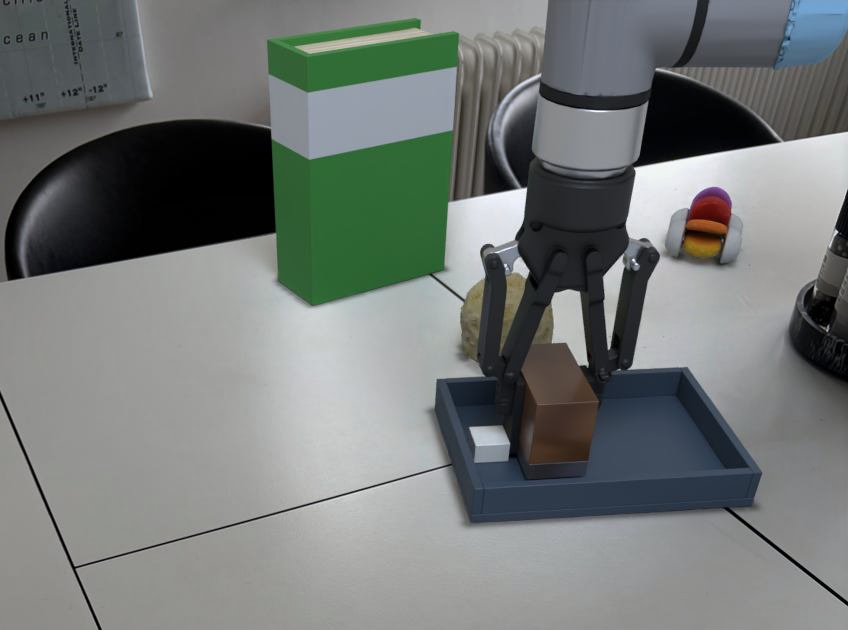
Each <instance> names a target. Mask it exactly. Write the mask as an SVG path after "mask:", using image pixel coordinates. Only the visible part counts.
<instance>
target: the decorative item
mask: <svg viewBox="0 0 848 630" xmlns="http://www.w3.org/2000/svg"><path fill="white" fill-rule="evenodd" d="M526 279H527V277H524V276H523V275H522V274H520V273H519V272H516V271H515V272H512V273H511V275H510V276H506V281H507V295H506V303H505V311H504V319H503V327H502V335H501V343H500V352H499V356H500V354H501V351H502V349H503V346H504V343H505V341H506V338H507V335H508V333H509V330H510V328H511V325H512V322H513V320H514V317H515V314H516V312H517V309H518V306H519V304H520V301H521V299H522V296H523V293H524V290H525V282H526ZM484 282H485V277H484V278H483V279H481V280H479V281H478V282H477V283H475V284H474V285H473V286H472V287H471V288H470V289H469V290H468V291H467V293H466V295H465V298H464V301H463V304H462V306H461V307H460V315H459V324H460V330H461V335H460V336H461V342H462V347H463V353H464V357H465V358H470V359H471V360H472V361H474V362H475V363H477V364H479V363H478V361H477V347H478V338H479V329H480V319H481V310H482V301H483V291H484ZM552 302H553V301H551V303H550V305H549V306H547V307H546V309H545V311H544V314H543V316H542V319H541V321H540V324H539V326H538V329H537V331H536V334H535V336H534V339H533V341H532V344H546V343H553V340H554V339H553V337H554V328H555V323H554V319H555V318H554V309H553V303H552Z"/></svg>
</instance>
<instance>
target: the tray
mask: <svg viewBox="0 0 848 630" xmlns="http://www.w3.org/2000/svg"><path fill="white" fill-rule="evenodd" d="M611 373H612V375H613V376H612V379H611V380H610V381H609V382H607V383H605V388H604V393H603V398H602V404H601V406H600V408H599V409H598V410H597V415H596V421H595V426H594V432H593V437H592V443H591V448H590V454H589V459H588V464H587V470H586V475H585V476H578V477H562V478H545V479H527V478H526V476H525V473H524V471H523V468H522V466H521V464H520V461H519V459H518V456H517V454H509V458H508V461H505V462H487V463H475V462H474V459H473V456H472V453H471V451H470V448H469V445H468V432H469V427H480V426H499V425H502V426H503V423H504V422H503V420H502V417H501V416H500V414H499V412H498V409H497V407H496V404H495V396H496V385H497V377H494V376H492V377H486V376H484V375H483V376H466V377H465V376H463V377H461V376H460V377H445V378H436V383H435V397H434V413H435V416H436V419H437V422H438V425H439V428H440V432H441V435H442V438H443V441H444V444H445V447H446V450H447V453H448V456H449V459H450V463H451V466H452V469H453V472H454V475H455V478H456V482H457V485H458V487H459V490H460V493H461V497H462V500H463V502H464V505H465V509H466V512H467V516H468V519H469V521H470V523H471V524H477V523H494V522H508V521H509V522H510V521H524V520H525V521H527V520H541V519H556V518H557V519H559V518H560V519H561V518H573V517H575V518H577V517H591V516H592V517H593V516H605V515H622V514H624V515H625V514H639V513H657V512H671V511H672V512H673V511H674V512H675V511H689V510H704V509H705V510H706V509H721V508H737V507H738V508H739V507H752V506H753V504H754V501H755V497H756V494H757V492H758V488H759V485H760V482H761V478H762V476H763V471H762V469H761V468H760V467H759V465H758V464H757V462H756V461H755V460H754V458H753V457H752V455H751V454H750V453H749V450H747V448H746V447H745V446H744V443H742V441H741V439H740V438H739V437H738V436H737V434H736V433H735V431H734V430H733V429H732V427H731V426H730V424H729V423H728V422H727V420H726V419H725V418H724V416H723V415H722V414H721V412H720V410H719V409H718V408H717V406H716V405H715V403H714V401H712V399H711V398H710V396H709V395H708V394H707V392H706V390H705V389H704V388H703V387H702V385H701V384H700V383H699V381H698V380H697V378H696V377H695V376H694V374H693V373H692V371H691V370H690V368H689V367H688V366H680V367H679V366H674V367H658V368H657V367H655V368H633V369H631V368H630V369H628V370H620V369H618V370H615V371H613V372H611Z"/></svg>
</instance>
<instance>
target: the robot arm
mask: <svg viewBox="0 0 848 630" xmlns="http://www.w3.org/2000/svg"><path fill="white" fill-rule="evenodd" d="M847 32H848V0H547V11H546V19H545V31H544V43H543V51H542V52H543V53H542V63H541V72H540V79H539V87H538V94H537V103H536V111H535V118H534V125H533V134H532V135H533V136H532V142H531V151H532V154H534V155H535V157H534V158H533V159H532V160H531V161H530V163H529V167H528V176H527V184H526V194H525V203H524V211H523V220H522V223H521V226H520V227H519V229H518V230H517V232H516V234H515V237H514V240H511V241H508V242H506V243H502V244H500V245H497V246H495V245H494V244H492V243H485V244H483V245H482V246H481V247H480V250H479V255H480V259H481V264H482V267H483V270H484V278H485V282H484V291H483V301H482V310H481V319H480V329H479V338H478V347H477V361H478V363H477V364H478V365H479V368H480V370H481V373H482V375H483V376H486V377H492V376H494V377H497V385H496V396H495V404H496V407H497V409H498V412H499V414H500V416H502V415H504V423H503V427H504V430H505V432H506V435H507V437H508V439H509V442H510V450H509V454H516V453H517V452H518V444H519V436H520V428H521V420H522V412H523V404H524V396H525V388H526V383H525V381H524V379H523V377H522V375H521V373H520V371H521V369H522V366H523V364H524V361H525V359H526V356H527V354H528V351H529V349H530V346H531V344H532V341H533V339H534V336H535V334H536V331H537V329H538V326H539V324H540V321H541V319H542V316H543V314H544V311H545V309H546V307H547V306H549V305H550V303H551V302H553V301H552V300H553V298H554V296H555V293H561V292H565V291H569V290H570V291H574V292H578V293H579V296H580V297H579V298H580V305H581V314H582V315H581V316H582V324H583V334H584V342H585V351H586V353H585V354H586V360H587V364H578V365H579V367H580V368H581V370H582V372H583V374H584V376H585V377H586V379H587V381H588V383H589V385H590V386H591V388H592V390H593V392H594V394H595V395H596V397H597V399H598V401H599V404H598V409H599V408H600V406H601V404H602V398H603V393H604V388H605V383H607V382H609V381H610V380H611V379H612V376H613V375H612V373H611V372H613V371H615V370H630V369H631V368H632V366H633V363H634V359H635V357H634V356H635V353H636V348H637V342H638V336H639V331H640V328H641V327H640V326H641V320H642V316H643V310H644V306H645V305H644V304H645V299H646V295H647V290H648V284H649V280H650V278H651V277H652V274H653V273H654V271H655V269H656V267H657V265H658V264H659V262H660V259H661V253H660V252H659V251H658V249H657V248H656V247H655V245H654V244H653V243H652V242H651V241H650V240H649V238H647V237H642V238H639V239H636V238H633V237H630V236H629V232H628V229H627V221H628V218H629V213H630V208H631V202H632V197H633V190H634V185H635V179H636V174H637V171H636V169H635V167H634V165H633V164H635V162H637V161H638V159H639V157H640V153H641V147H642V143H643V142H642V141H643V135H644V130H645V124H646V118H647V113H648V106H649V101H650V98H651V94H652V86H653V85H652V84H653V79H654V76H655V72H656V70H657V69H658V68H668V69H680V68H753V69H754V68H755V69H756V68H761V69H762V68H771V69H772V70H773V71H777V70H780V69H783V68H790V67H802V66H811V65H816V64H819V63H822V62H823V61H824V60H826V59H828V58H829V57H830V56H831V55H832V54H833V53H834V52H835V51H836V50H837V49H838V47H839V46H840V44H841V43H842V41H843V39H844V37H845V36H846V35H847ZM621 257H622V260H621V261H622V264H623V265H624V266H623V270H622V275H621V280H620V287H619V292H618V297H617V305H616V310H615V315H614V322H613V326H612V327H613V328H612V332H611V339H610V340H611V341H610V345H608V333H607V323H606V312H605V300H606V293H605V284H604V277H605V275H607V273H608V272H609V271H610V270H611V269H612V268H613V266H614V265H616V263H617V262H618V261H619V259H620V258H621ZM519 258H520V259H521V260H522V261H523V263H524V264H525V267H526V268H527V269H528V274H527V275H526V278H527V279H526V282H525V290H524V293H523V296H522V299H521V301H520V304H519V306H518V309H517V312H516V314H515V317H514V320H513V322H512V325H511V328H510V330H509V333H508V335H507V338H506V341H505V343H504V346H503V349H502V351H501V354H500V356H499V352H500V343H501V335H502V327H503V319H504V311H505V303H506V295H507V281H506V276H510V275H511V273H513V271H514V264H515V262H516V260H518V259H519Z"/></svg>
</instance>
